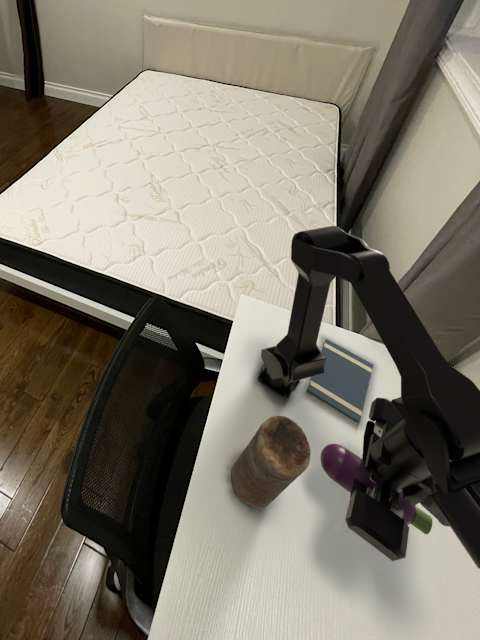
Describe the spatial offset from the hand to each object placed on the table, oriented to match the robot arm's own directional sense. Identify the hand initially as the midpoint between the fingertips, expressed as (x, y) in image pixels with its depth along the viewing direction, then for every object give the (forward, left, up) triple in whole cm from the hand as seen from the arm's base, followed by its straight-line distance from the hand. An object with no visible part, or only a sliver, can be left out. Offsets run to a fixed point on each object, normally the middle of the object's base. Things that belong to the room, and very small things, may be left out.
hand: (362, 484), depth 56 cm
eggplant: (0, 0, -1) cm, 1 cm away
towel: (-5, +21, -9) cm, 24 cm away
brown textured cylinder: (-13, -7, -10) cm, 17 cm away
